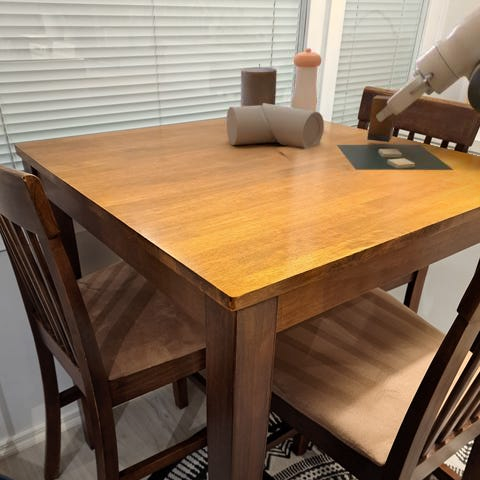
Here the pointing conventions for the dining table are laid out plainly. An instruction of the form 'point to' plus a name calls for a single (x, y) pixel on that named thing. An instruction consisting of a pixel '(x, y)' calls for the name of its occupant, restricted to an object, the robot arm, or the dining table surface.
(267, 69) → the pillar candle
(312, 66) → the pepper shaker
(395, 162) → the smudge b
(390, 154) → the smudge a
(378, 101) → the brown upright block
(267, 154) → the dining table surface
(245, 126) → the l-shaped cylinder
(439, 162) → the board
